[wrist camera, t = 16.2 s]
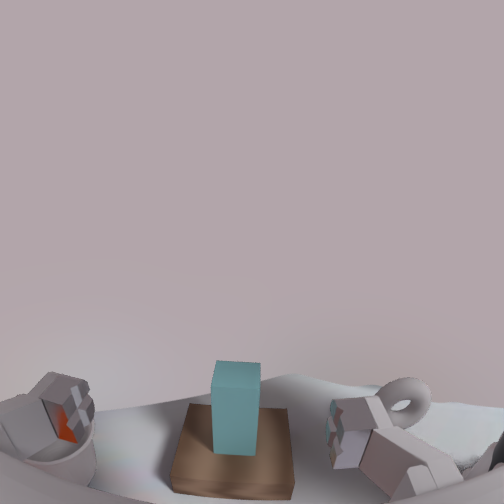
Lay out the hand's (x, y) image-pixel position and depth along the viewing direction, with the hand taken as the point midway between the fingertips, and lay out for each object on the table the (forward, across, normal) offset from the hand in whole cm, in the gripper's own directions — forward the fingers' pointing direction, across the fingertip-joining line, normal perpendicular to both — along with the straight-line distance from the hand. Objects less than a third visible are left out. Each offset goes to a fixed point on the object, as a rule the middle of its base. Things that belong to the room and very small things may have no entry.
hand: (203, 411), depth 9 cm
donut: (+26, -24, +29) cm, 46 cm away
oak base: (+21, 0, +28) cm, 36 cm away
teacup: (+13, +22, +28) cm, 38 cm away
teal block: (+21, 0, +24) cm, 32 cm away
